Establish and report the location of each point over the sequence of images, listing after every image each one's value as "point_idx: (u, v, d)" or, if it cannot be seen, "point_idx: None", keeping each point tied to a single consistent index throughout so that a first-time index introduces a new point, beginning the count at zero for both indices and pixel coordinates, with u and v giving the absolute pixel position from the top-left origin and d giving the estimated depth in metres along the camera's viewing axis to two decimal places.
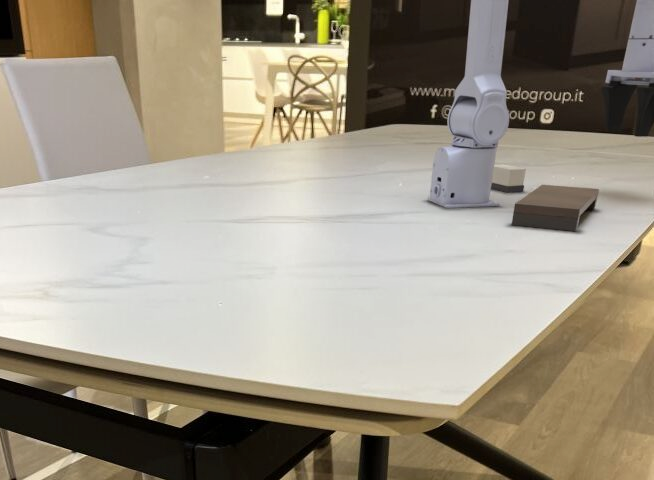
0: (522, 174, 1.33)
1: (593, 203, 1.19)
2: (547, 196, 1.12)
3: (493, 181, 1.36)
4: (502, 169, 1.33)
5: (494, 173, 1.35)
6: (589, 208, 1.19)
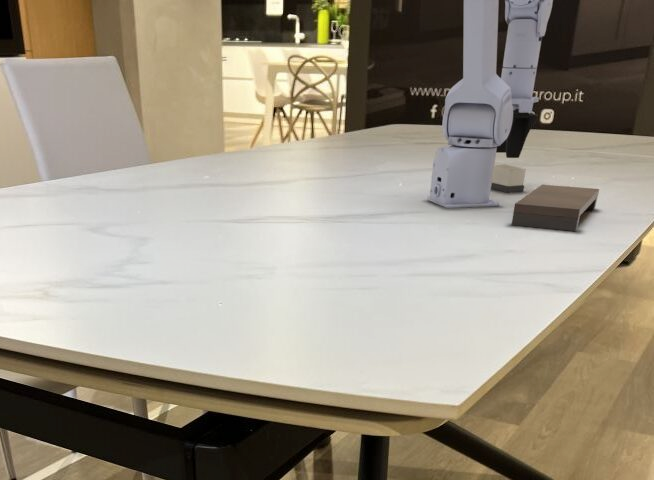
0: (522, 174, 1.33)
1: (593, 203, 1.19)
2: (547, 196, 1.12)
3: (493, 181, 1.36)
4: (502, 169, 1.33)
5: (494, 173, 1.35)
6: (589, 208, 1.19)
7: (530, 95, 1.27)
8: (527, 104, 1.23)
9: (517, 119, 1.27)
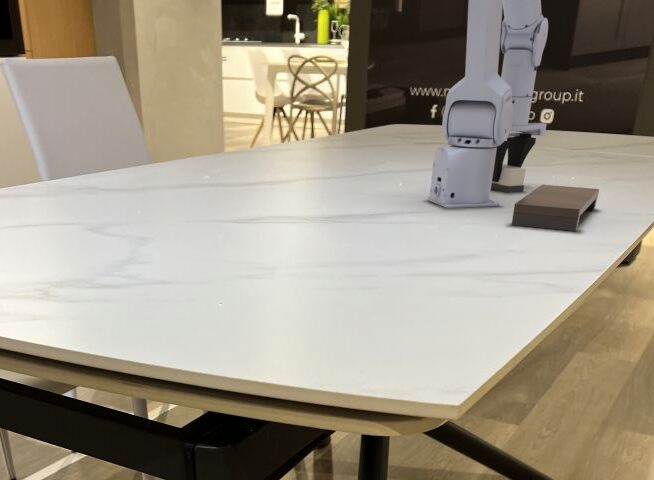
0: (522, 174, 1.33)
1: (593, 203, 1.19)
2: (547, 196, 1.12)
3: (493, 181, 1.36)
4: (502, 169, 1.33)
5: None
6: (589, 208, 1.19)
7: None
8: None
9: None
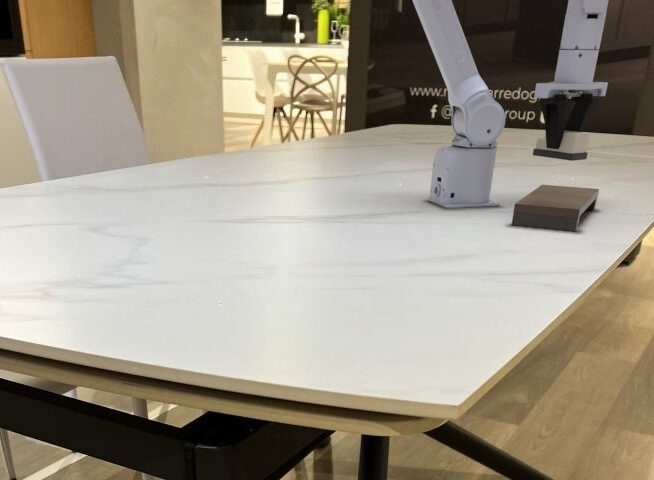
0: (586, 139, 1.17)
1: (593, 203, 1.19)
2: (547, 196, 1.12)
3: (551, 149, 1.20)
4: (564, 134, 1.17)
5: None
6: (589, 208, 1.19)
7: None
8: None
9: None
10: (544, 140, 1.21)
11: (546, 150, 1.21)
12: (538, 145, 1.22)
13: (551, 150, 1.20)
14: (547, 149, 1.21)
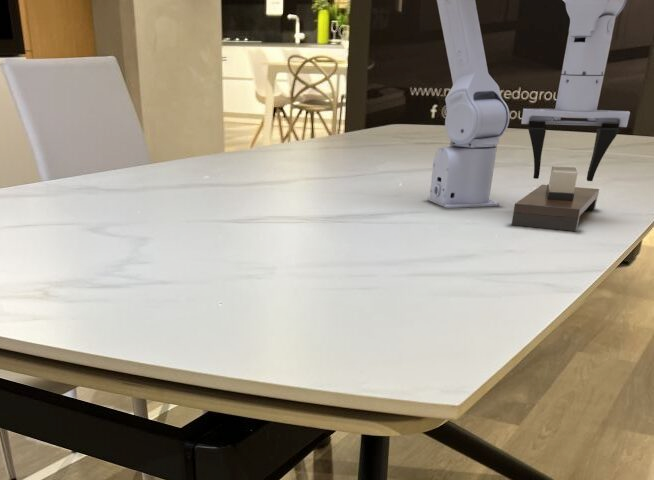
0: (571, 179, 1.08)
1: (593, 203, 1.19)
2: None
3: (549, 185, 1.13)
4: (552, 171, 1.10)
5: (550, 176, 1.12)
6: (589, 208, 1.19)
7: None
8: None
9: None
10: (550, 176, 1.14)
11: (549, 186, 1.14)
12: None
13: (548, 187, 1.13)
14: (548, 186, 1.14)
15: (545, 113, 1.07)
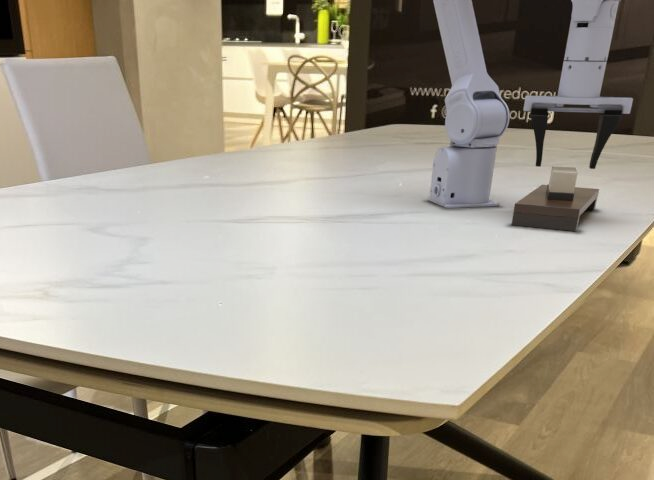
0: (571, 179, 1.08)
1: (593, 203, 1.19)
2: None
3: (549, 185, 1.13)
4: (552, 171, 1.10)
5: (550, 176, 1.12)
6: (589, 208, 1.19)
7: None
8: None
9: None
10: (550, 176, 1.14)
11: (549, 186, 1.14)
12: None
13: (548, 187, 1.13)
14: (548, 186, 1.14)
15: (547, 100, 1.06)
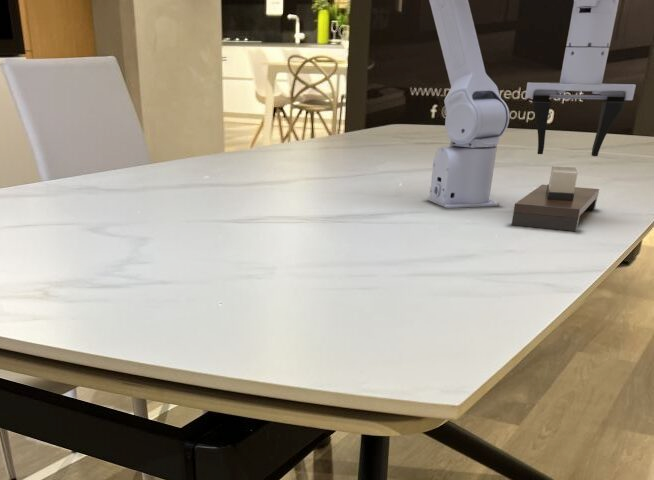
0: (571, 179, 1.08)
1: (593, 203, 1.19)
2: None
3: (549, 185, 1.13)
4: (552, 171, 1.10)
5: (550, 176, 1.12)
6: (589, 208, 1.19)
7: None
8: None
9: None
10: (550, 176, 1.14)
11: (549, 186, 1.14)
12: None
13: (548, 187, 1.13)
14: (548, 186, 1.14)
15: (550, 86, 1.05)
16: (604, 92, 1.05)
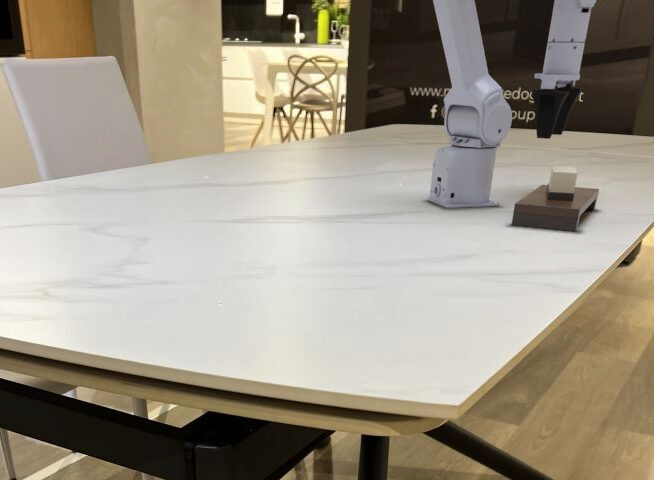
0: (571, 179, 1.08)
1: (593, 203, 1.19)
2: None
3: (549, 185, 1.13)
4: (552, 171, 1.10)
5: (550, 176, 1.12)
6: (589, 208, 1.19)
7: None
8: None
9: None
10: (550, 176, 1.14)
11: (549, 186, 1.14)
12: None
13: (548, 187, 1.13)
14: (548, 186, 1.14)
15: (564, 77, 1.18)
16: None
